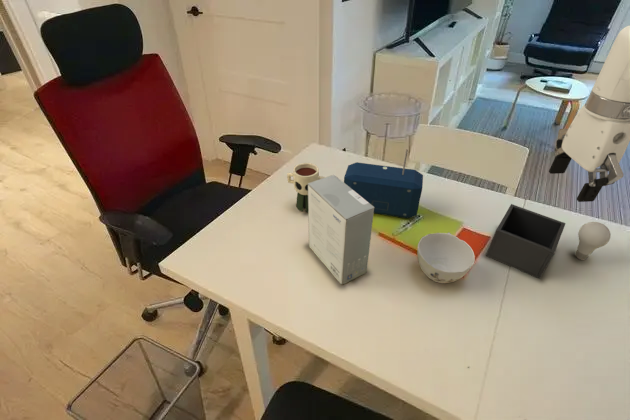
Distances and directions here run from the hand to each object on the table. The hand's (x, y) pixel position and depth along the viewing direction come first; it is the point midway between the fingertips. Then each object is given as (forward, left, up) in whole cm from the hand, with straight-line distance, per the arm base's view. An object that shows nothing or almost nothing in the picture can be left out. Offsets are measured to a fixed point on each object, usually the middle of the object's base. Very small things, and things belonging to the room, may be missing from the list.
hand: (569, 186), depth 75 cm
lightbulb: (-9, -12, -25) cm, 29 cm away
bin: (+3, -5, -24) cm, 25 cm away
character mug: (+58, +13, -25) cm, 64 cm away
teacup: (+17, +13, -25) cm, 33 cm away
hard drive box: (+39, +25, -25) cm, 52 cm away
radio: (+41, 0, -25) cm, 47 cm away
